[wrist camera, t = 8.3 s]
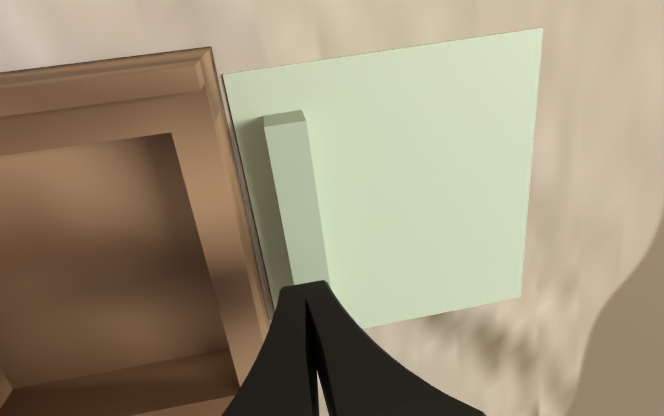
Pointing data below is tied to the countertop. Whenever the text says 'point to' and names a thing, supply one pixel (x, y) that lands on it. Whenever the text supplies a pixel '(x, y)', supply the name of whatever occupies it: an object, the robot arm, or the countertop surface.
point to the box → (123, 241)
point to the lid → (394, 172)
